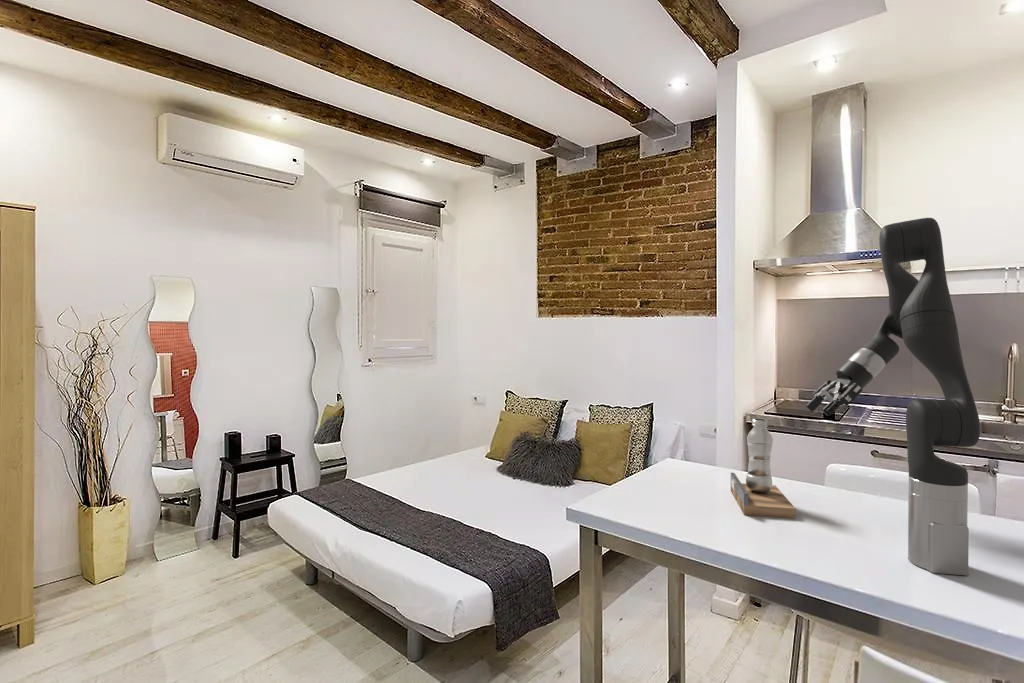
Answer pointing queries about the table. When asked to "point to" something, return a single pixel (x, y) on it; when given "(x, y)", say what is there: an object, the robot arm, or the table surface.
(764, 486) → the silver bottle
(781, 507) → the shelf board
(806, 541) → the table surface
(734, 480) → the rail
